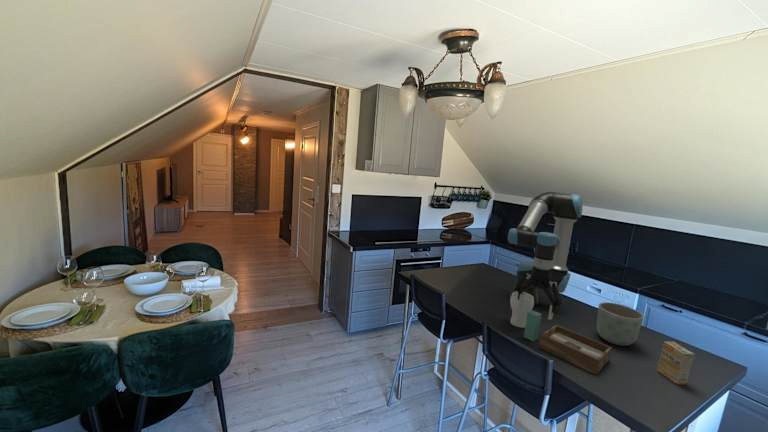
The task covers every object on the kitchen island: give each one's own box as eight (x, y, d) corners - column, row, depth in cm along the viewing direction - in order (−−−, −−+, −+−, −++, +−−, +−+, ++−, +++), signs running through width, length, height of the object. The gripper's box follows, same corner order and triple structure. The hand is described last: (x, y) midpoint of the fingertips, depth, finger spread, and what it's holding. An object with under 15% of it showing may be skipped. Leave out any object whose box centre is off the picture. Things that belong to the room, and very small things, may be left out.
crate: (554, 336, 151) (556, 324, 150) (609, 360, 135) (611, 347, 134) (538, 347, 141) (540, 334, 140) (596, 374, 125) (598, 360, 124)
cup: (532, 330, 155) (537, 301, 153) (509, 327, 157) (513, 297, 155) (527, 320, 166) (531, 292, 163) (505, 317, 168) (509, 289, 165)
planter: (628, 336, 158) (635, 306, 155) (643, 354, 142) (650, 322, 139) (588, 328, 163) (594, 299, 160) (598, 345, 147) (605, 313, 144)
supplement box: (655, 370, 130) (663, 340, 128) (666, 371, 131) (674, 341, 129) (675, 385, 122) (683, 353, 120) (687, 385, 123) (695, 353, 121)
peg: (528, 334, 152) (532, 310, 150) (537, 338, 149) (541, 314, 147) (523, 336, 149) (527, 312, 147) (533, 341, 146) (537, 316, 144)
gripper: (511, 260, 150) (504, 304, 153) (569, 277, 131) (560, 326, 135) (519, 258, 155) (512, 300, 158) (576, 274, 136) (567, 322, 140)
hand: (534, 312), depth 146 cm, fingers open, 13 cm apart
